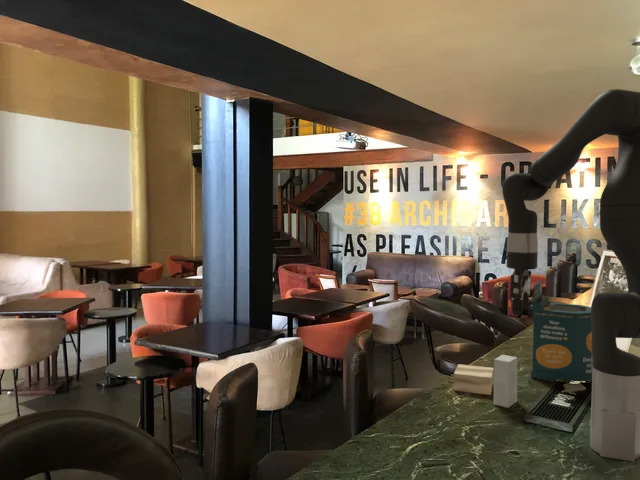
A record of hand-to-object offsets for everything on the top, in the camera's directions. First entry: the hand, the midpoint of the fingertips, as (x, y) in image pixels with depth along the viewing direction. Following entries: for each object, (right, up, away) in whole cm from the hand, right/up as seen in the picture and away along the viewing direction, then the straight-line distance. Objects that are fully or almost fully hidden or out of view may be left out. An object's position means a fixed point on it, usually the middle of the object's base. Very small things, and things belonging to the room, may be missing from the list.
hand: (520, 311), depth 139 cm
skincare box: (-4, -24, 0) cm, 24 cm away
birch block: (-9, -23, +12) cm, 28 cm away
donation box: (+22, -23, +23) cm, 39 cm away
